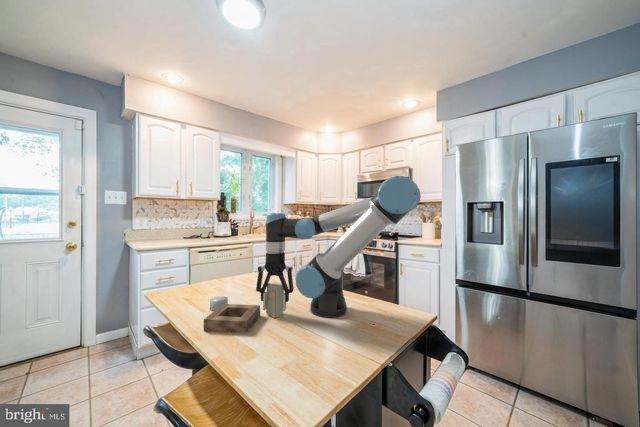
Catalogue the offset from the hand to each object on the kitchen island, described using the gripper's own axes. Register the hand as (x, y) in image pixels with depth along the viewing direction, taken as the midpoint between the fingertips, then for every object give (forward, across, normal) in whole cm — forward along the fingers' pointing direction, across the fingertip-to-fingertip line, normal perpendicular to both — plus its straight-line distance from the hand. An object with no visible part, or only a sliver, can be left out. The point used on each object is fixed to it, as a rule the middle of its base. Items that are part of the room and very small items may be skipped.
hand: (274, 309), depth 105 cm
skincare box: (+2, 0, 0) cm, 2 cm away
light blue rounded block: (+2, +25, -4) cm, 25 cm away
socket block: (+2, +13, +9) cm, 16 cm away
